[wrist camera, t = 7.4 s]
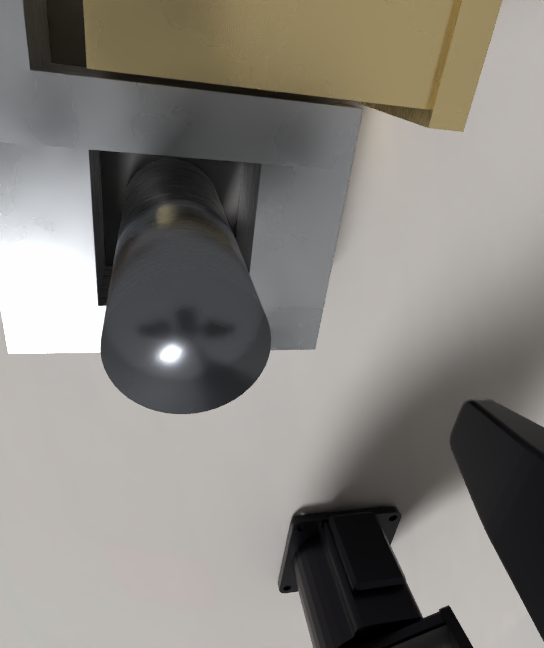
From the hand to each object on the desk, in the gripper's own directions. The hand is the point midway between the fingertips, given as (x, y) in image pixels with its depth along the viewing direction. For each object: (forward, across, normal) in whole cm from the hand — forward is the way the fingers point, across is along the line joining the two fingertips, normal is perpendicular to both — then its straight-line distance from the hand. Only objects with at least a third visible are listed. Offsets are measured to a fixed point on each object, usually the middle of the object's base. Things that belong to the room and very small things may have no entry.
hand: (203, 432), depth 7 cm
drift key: (+11, -2, -6) cm, 13 cm away
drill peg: (+11, 0, 0) cm, 11 cm away
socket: (+11, 0, -2) cm, 11 cm away
